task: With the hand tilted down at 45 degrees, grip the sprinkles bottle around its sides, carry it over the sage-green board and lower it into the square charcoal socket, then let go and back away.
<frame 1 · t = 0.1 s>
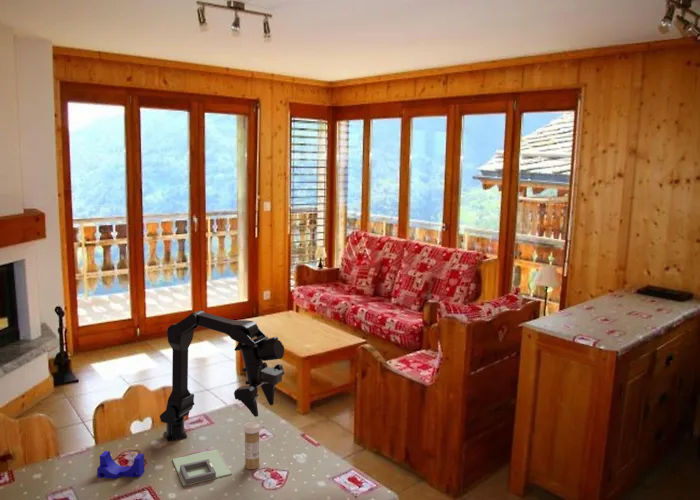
hand: (264, 410, 174), 15 cm above the table, tool pointing down, fingers open, 9 cm apart
sprinkles bottle: (252, 466, 170), on the table
cable clip: (121, 476, 164), on the table
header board: (197, 475, 164), on the table
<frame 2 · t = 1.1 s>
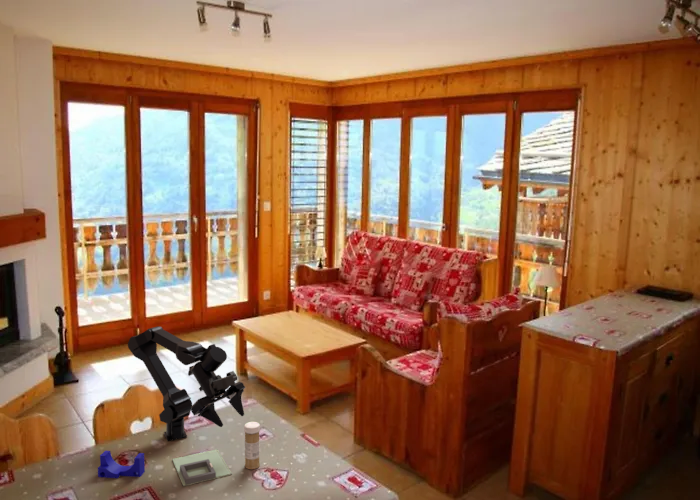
hand: (232, 420, 173), 12 cm above the table, tool tilted 45°, fingers open, 9 cm apart
nothing on the table moved.
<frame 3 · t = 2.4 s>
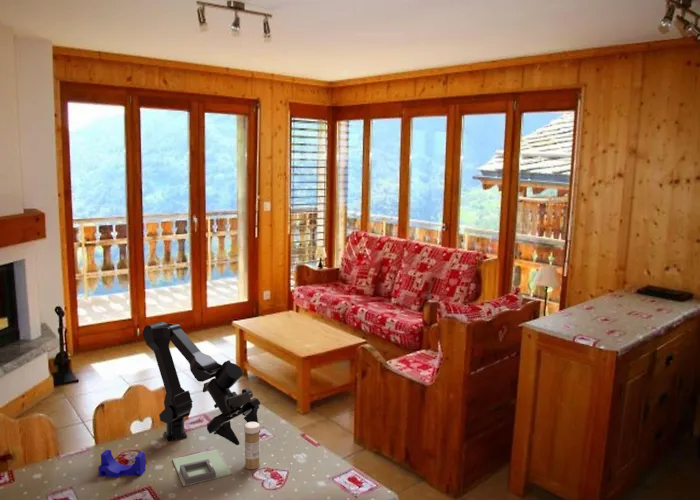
hand: (249, 438, 170), 9 cm above the table, tool tilted 45°, fingers open, 9 cm apart
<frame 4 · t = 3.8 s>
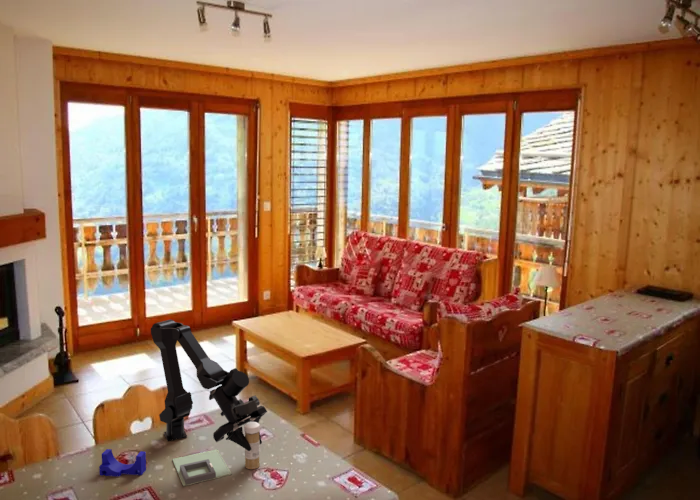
hand: (255, 447, 169), 7 cm above the table, tool tilted 45°, fingers closed on sprinkles bottle, 4 cm apart
sprinkles bottle: (252, 466, 170), on the table, touching gripper
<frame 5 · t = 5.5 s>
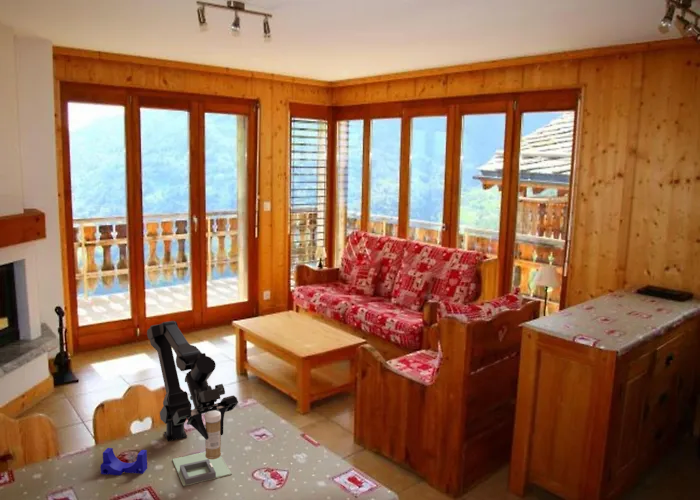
hand: (214, 436, 163), 12 cm above the table, tool tilted 45°, fingers closed on sprinkles bottle, 4 cm apart
sprinkles bottle: (213, 456, 165), point 5 cm above the table, touching gripper
when the fingers open (8 cm above the table, at t = 7.1 s): sprinkles bottle drops 1 cm, resting on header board.
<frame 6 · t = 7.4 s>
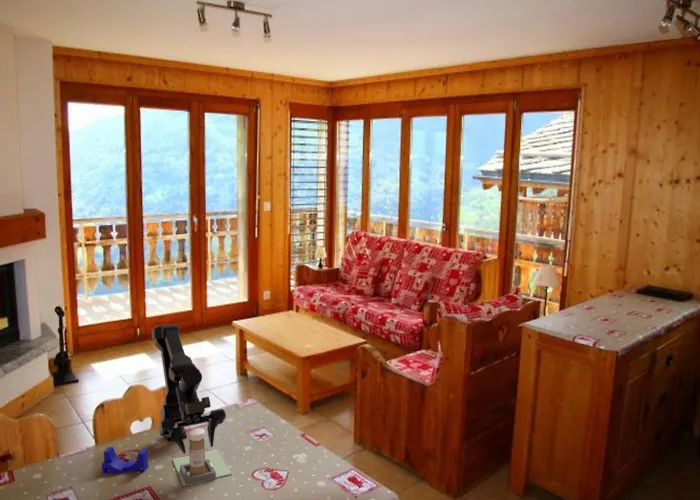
hand: (198, 450, 162), 9 cm above the table, tool tilted 45°, fingers open, 8 cm apart
sprinkles bottle: (197, 474, 165), resting on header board
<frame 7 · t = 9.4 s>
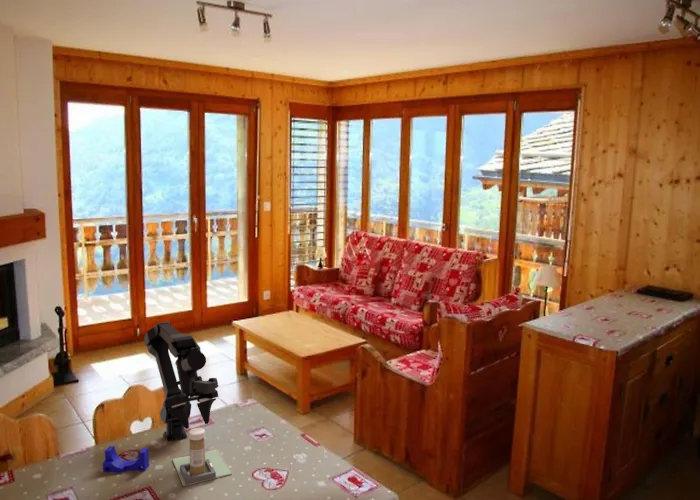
hand: (197, 426, 171), 11 cm above the table, tool tilted 30°, fingers open, 9 cm apart
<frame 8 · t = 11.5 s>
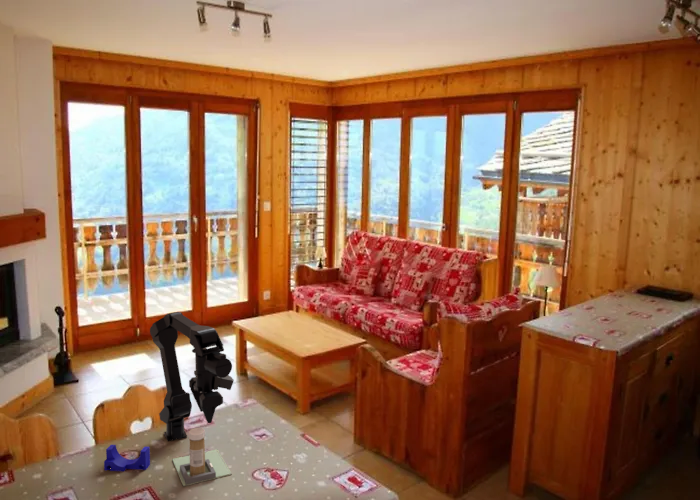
hand: (205, 416, 174), 13 cm above the table, tool pointing down, fingers open, 9 cm apart
at the end: sprinkles bottle 0.2 cm from the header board (horizontally); sprinkles bottle tilted 0°; the gripper is holding nothing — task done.
